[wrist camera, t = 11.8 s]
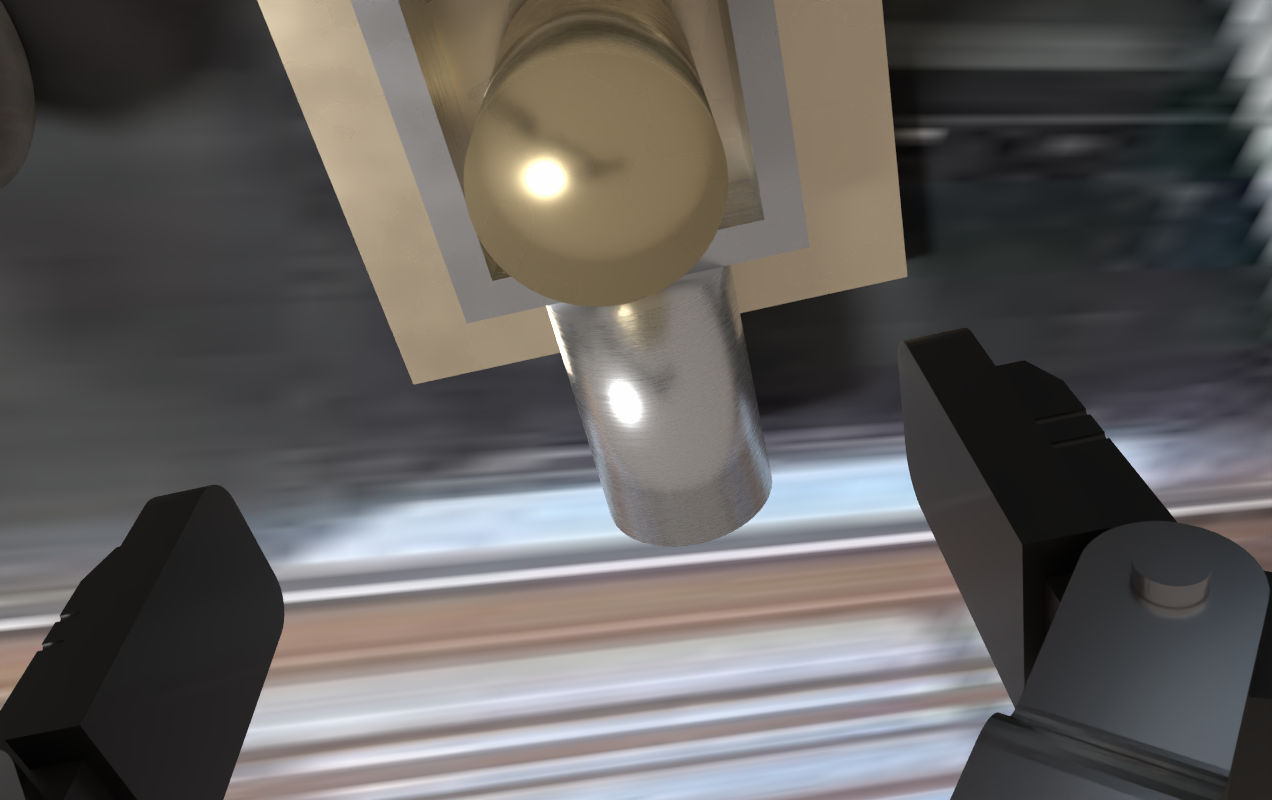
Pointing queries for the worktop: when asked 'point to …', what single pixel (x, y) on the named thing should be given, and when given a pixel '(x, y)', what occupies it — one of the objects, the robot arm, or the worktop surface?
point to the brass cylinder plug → (595, 153)
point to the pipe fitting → (14, 101)
